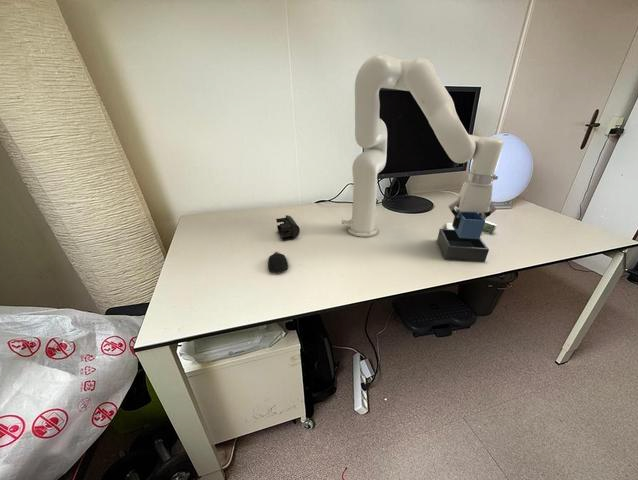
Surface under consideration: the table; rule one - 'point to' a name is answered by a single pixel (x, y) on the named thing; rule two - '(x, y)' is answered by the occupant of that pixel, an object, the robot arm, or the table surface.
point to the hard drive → (449, 226)
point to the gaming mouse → (277, 263)
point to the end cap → (288, 228)
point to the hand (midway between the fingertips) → (466, 227)
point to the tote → (461, 247)
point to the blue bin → (470, 225)
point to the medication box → (489, 227)
